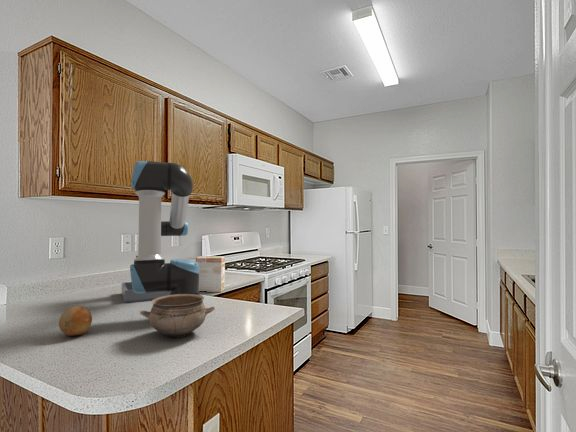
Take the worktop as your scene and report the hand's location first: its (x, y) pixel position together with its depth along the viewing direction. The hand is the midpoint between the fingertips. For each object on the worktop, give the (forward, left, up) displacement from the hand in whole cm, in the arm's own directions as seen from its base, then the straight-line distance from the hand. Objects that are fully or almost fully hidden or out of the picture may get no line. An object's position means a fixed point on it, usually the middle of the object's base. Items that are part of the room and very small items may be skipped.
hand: (148, 286), depth 180 cm
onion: (-61, -12, -5) cm, 63 cm away
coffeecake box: (+19, -27, -5) cm, 33 cm away
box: (0, 0, -5) cm, 5 cm away
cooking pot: (-53, -46, -5) cm, 70 cm away
